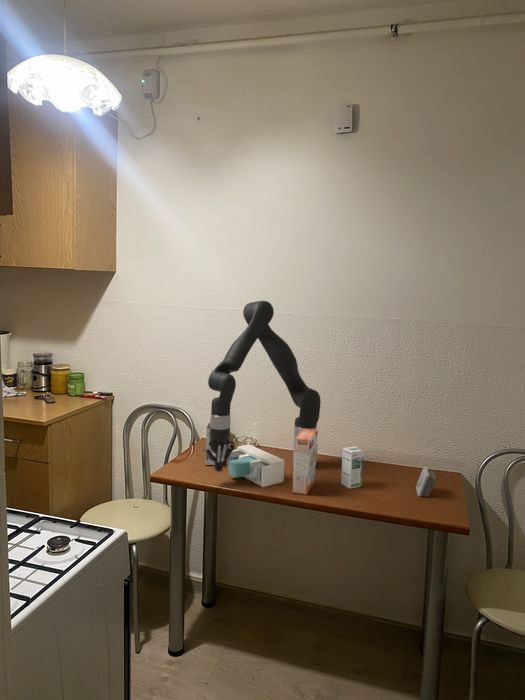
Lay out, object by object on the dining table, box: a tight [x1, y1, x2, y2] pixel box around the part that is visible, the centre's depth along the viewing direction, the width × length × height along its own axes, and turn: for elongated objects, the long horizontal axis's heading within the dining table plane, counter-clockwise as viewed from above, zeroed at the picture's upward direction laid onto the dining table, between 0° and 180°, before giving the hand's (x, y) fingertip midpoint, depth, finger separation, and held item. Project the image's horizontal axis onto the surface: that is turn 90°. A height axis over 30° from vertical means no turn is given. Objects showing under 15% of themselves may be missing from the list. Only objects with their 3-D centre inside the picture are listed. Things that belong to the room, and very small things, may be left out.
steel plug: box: [248, 462, 269, 482], centre depth 197 cm, size 10×5×5 cm, turn 128°
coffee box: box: [205, 422, 215, 465], centre depth 216 cm, size 9×6×16 cm
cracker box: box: [291, 429, 319, 496], centre depth 192 cm, size 14×6×21 cm, turn 163°
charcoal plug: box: [226, 451, 245, 468], centre depth 209 cm, size 10×5×5 cm, turn 128°
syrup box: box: [340, 446, 364, 489], centre depth 197 cm, size 6×6×14 cm
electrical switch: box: [415, 466, 437, 498], centre depth 192 cm, size 9×5×9 cm, turn 169°
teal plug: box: [228, 457, 256, 478], centre depth 200 cm, size 10×5×5 cm, turn 127°
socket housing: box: [231, 444, 285, 488], centre depth 204 cm, size 10×23×9 cm, turn 37°
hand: (218, 470), depth 194 cm, fingers closed
